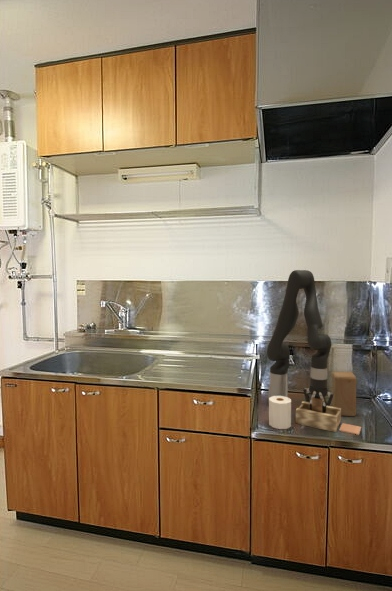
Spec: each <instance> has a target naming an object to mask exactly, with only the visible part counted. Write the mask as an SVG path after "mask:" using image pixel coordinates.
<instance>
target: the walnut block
mask: <svg viewBox="0 0 392 591" xmlns="http://www.w3.org/2000/svg"><path fill="white" fill-rule="evenodd" d="M322 406H323V402H322V399H320V398H315V397H314V398H312V411H316V412H321V413H322Z"/></svg>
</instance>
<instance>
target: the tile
mask: <svg viewBox="0 0 392 591" xmlns="http://www.w3.org/2000/svg"><path fill="white" fill-rule="evenodd" d="M338 430H339V432H341V433H347V434H352V435H355V434H356V436H360V433H361V430H362V426H360V425H359V426H358V425H353V424H349V423H344V422H342V423H341V425H340V426H339V429H338Z"/></svg>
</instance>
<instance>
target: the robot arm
mask: <svg viewBox="0 0 392 591" xmlns="http://www.w3.org/2000/svg"><path fill="white" fill-rule="evenodd" d="M315 282H316V281H315V276H314V274H313V272H312V271H310V270H306V269H305V270H304V269H301V270H300V269H293V270H292V271H291V272H290V274H289V275H288V279H287V283H286V289H285V295H284V298H283V301H282V305H281V309H280V312H279V315H278V317H277V322H276V325H275V328H274V331H273V333H272V336H271V338H270V341H269V344H268V345H267V348H266V355H267V358H268V360H270V361H271V362H274V363H273V364H272V365H271V366H270V368H269V385H268V398H269V397H272V396H284V397H288V372H289V371H288V370H289V368H290V359H291V358H290V357H291V356H290V355H291V353H290V351H291V350H290V347H289V345H288V344H287V343H286V342H284V341H285V339H286V338H287V336H288V335H289V334H290V333H291V332H292V331H293V330H294V328H295V326H296V324H297V321H298V318H299V315H300V312H299V307H298V303H297V298H298V294H299V292H300V290H303V291H304V294H305V303H304V308H303V311H304V312H303V316H304V319H305V323H306V326H307V329H306V330H307V345H308V346H309V348H310V349H311V350H312V351H316V353H314V354H312V355H311V359H310V360H311V361H310V379H309V380H310V381H309V387H308V388H307V387H304V389H303V394H304V398H305V402H309V403H310V410H311V411H312V398H314V397H315V398H320V399H322V402H323V406H322V413H325V412H326V406H331V401H332V398H333V396H334V393H332V392H330V391H329V390H328V376H329V375H328V358H329V356H330V352H331V348H332V339H331V337H330V336H329V335H328V334H327V333H322V334H319V330H321V329H322V328H323V325H324V324H323V321H322V318H321V313H320V310H319V305H318V298H317V290H316V289H317V288H316V283H315ZM309 393H310V394H311V398H310V395H309ZM326 395H327V396H328V400H327V398H326Z"/></svg>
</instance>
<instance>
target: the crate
mask: <svg viewBox="0 0 392 591" xmlns="http://www.w3.org/2000/svg"><path fill="white" fill-rule="evenodd" d="M341 422H342V415H341V408H337V407H331V405H329V406H326V412H325V413H321V412H316V411H311V410H310V403H309V402H307V401H301V404H300V405H299V407H296V409H295V424H297V425H302V426H306V427H311V428H314V429H315V428H316V429H320V430H325V431H329V432H334V433H337V431H338V430H339V428H340V426H341V425H340V424H342V423H341Z"/></svg>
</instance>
